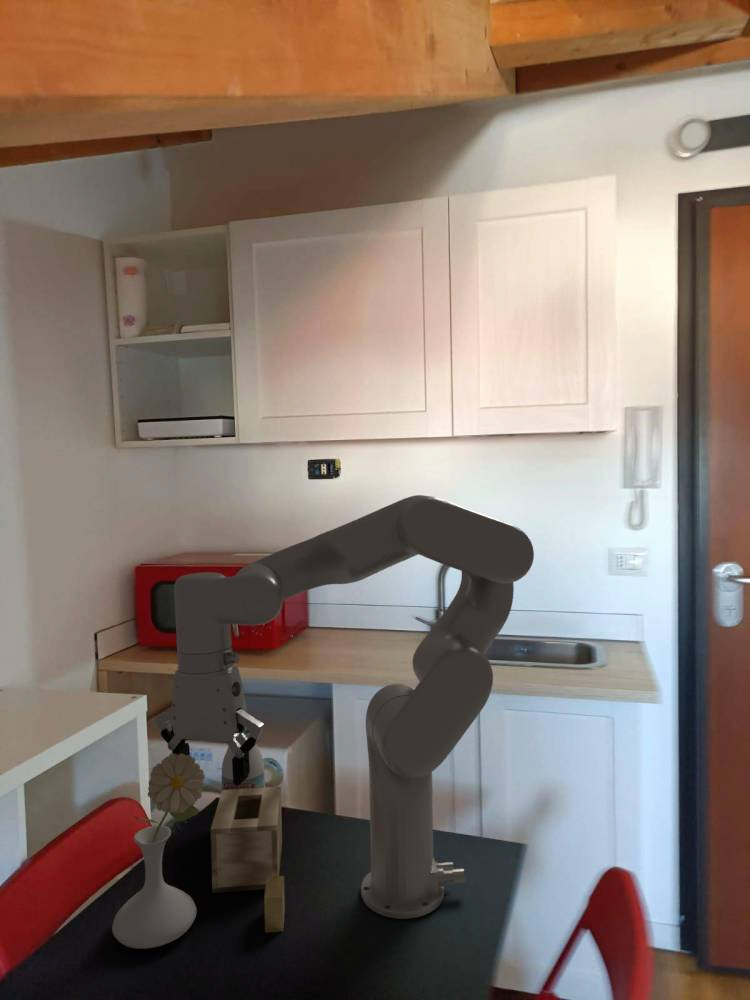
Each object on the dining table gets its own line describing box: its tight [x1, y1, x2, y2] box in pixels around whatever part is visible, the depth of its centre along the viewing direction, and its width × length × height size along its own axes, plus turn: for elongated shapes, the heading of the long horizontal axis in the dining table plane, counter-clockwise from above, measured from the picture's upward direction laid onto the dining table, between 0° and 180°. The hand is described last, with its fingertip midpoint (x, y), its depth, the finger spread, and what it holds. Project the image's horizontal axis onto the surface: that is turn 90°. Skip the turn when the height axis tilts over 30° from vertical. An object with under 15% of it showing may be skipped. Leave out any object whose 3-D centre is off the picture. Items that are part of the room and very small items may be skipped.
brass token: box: [263, 875, 286, 933], centre depth 98 cm, size 2×5×5 cm, turn 5°
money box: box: [210, 786, 283, 894], centre depth 111 cm, size 10×13×10 cm
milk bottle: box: [221, 728, 266, 791], centre depth 123 cm, size 8×8×20 cm
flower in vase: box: [111, 752, 206, 950], centre depth 96 cm, size 13×11×25 cm
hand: (211, 777), depth 98 cm, fingers open, 9 cm apart
